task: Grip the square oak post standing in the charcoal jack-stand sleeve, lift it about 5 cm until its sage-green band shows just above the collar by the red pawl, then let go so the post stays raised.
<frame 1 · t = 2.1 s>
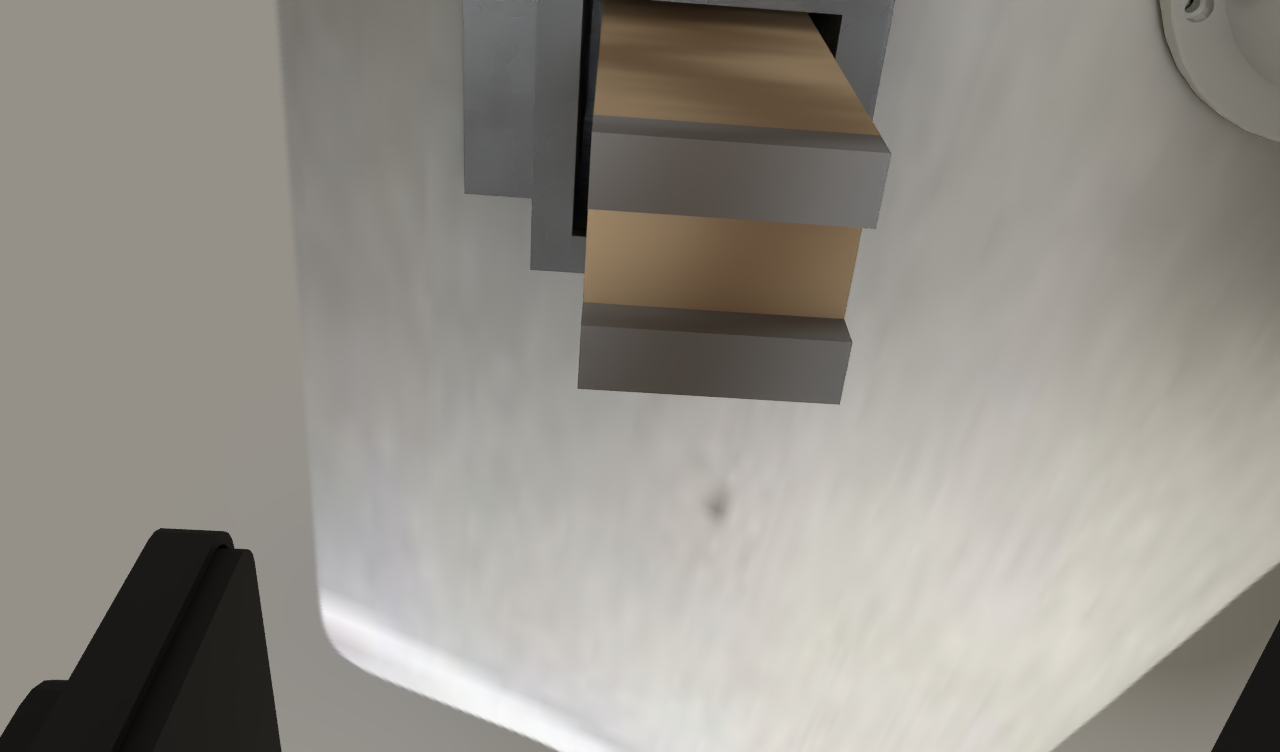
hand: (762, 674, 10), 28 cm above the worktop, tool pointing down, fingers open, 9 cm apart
column: (694, 99, 25), point 11 cm above the worktop, slide at 0.0 cm
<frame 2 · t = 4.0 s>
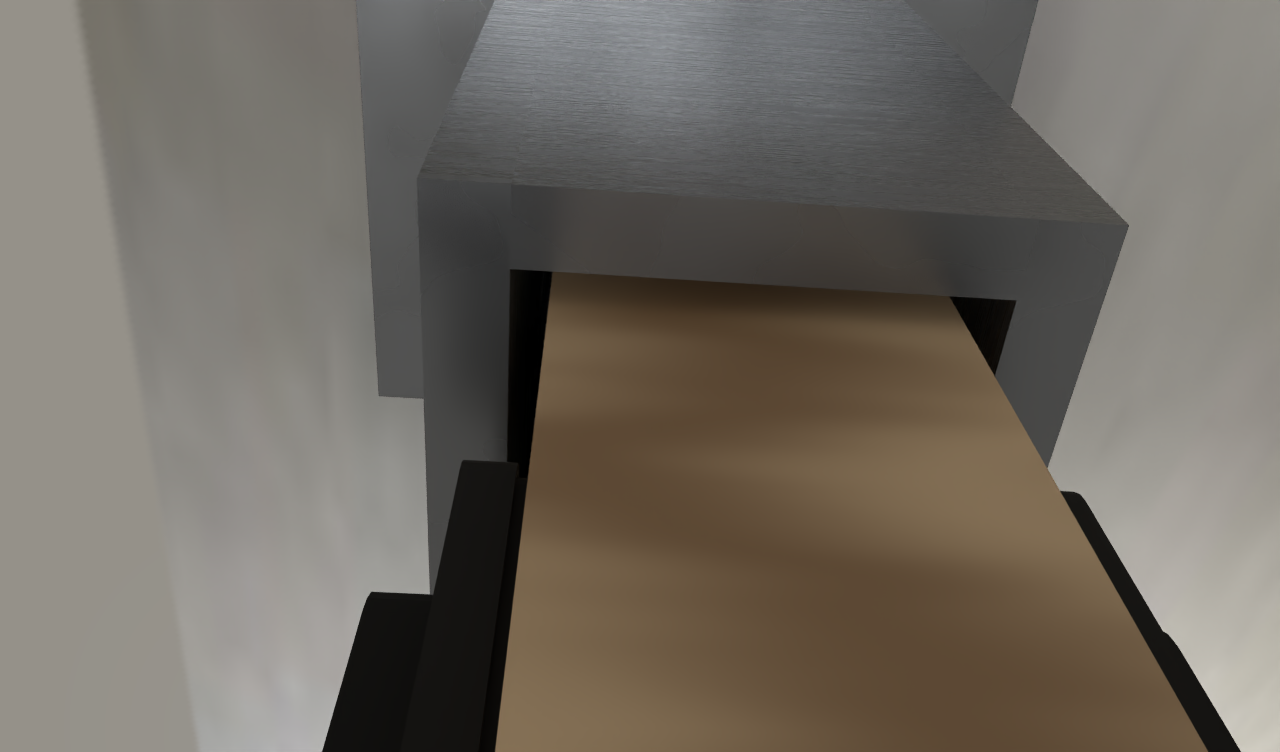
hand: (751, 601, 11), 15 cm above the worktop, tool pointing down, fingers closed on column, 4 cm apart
stand: (680, 123, 23), on the worktop
column: (719, 386, 14), point 11 cm above the worktop, slide at 0.0 cm, touching gripper
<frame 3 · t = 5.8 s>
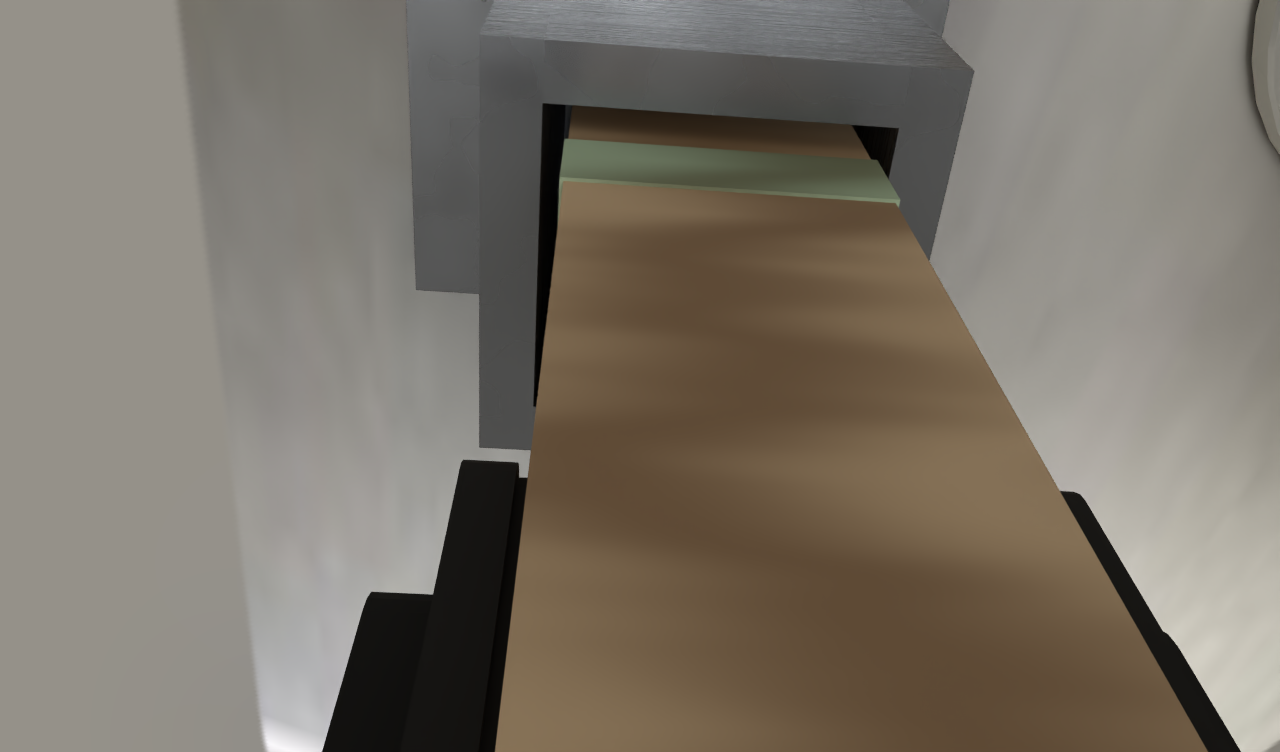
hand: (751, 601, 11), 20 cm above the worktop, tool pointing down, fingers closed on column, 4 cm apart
stand: (669, 55, 28), on the worktop
column: (719, 386, 14), point 16 cm above the worktop, slide at 5.4 cm, touching gripper
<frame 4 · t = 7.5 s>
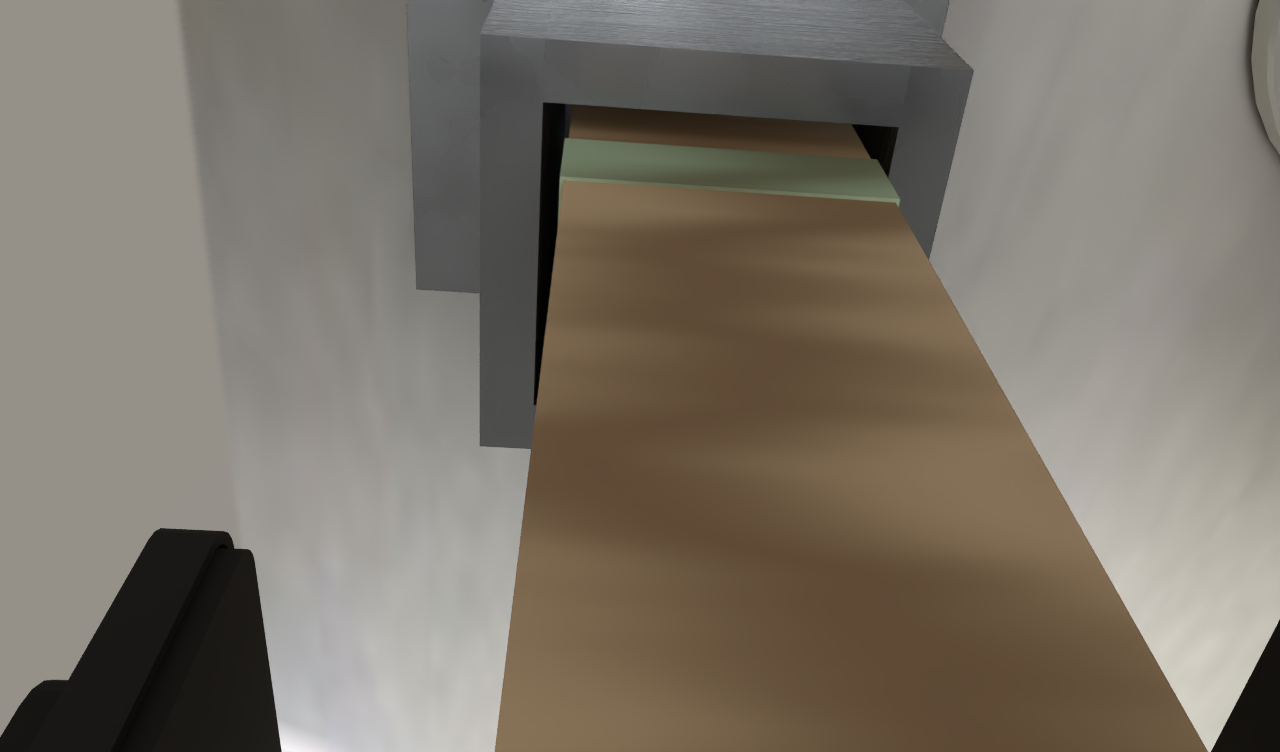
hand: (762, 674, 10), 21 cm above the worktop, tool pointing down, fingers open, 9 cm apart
stand: (670, 55, 28), on the worktop
column: (719, 385, 14), point 16 cm above the worktop, slide at 5.5 cm
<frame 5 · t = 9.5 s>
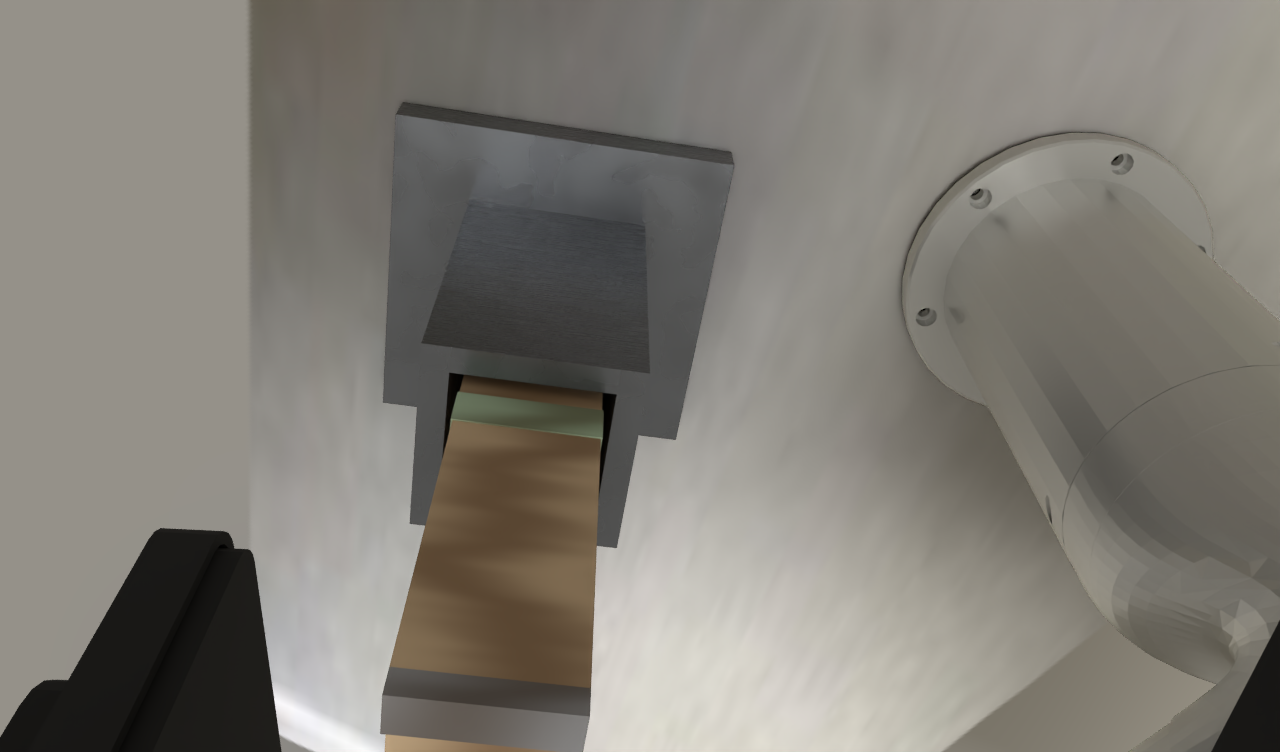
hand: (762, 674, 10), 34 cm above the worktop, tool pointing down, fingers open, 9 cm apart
stand: (550, 275, 46), on the worktop
column: (515, 515, 32), point 16 cm above the worktop, slide at 5.5 cm
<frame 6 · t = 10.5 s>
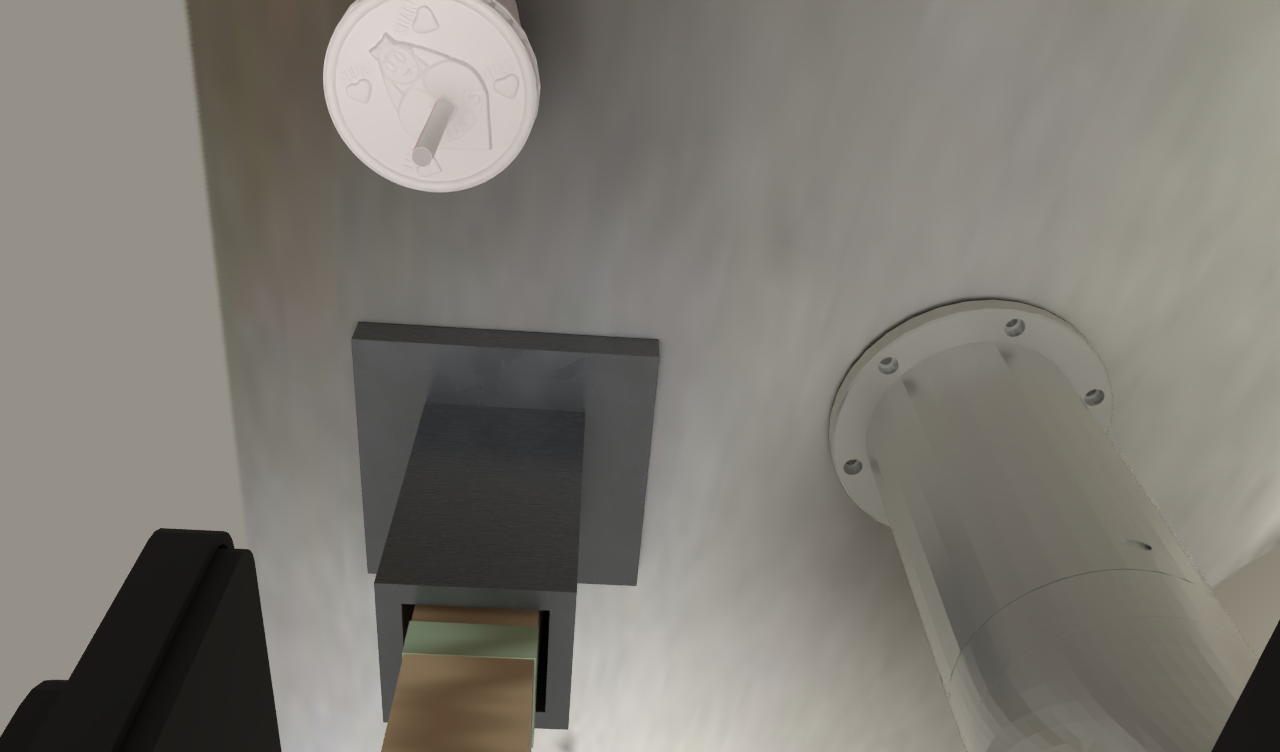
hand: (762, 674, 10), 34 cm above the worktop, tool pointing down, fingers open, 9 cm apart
stand: (507, 452, 51), on the worktop
column: (465, 731, 37), point 16 cm above the worktop, slide at 5.5 cm
smoothie: (469, 14, 40), on the worktop
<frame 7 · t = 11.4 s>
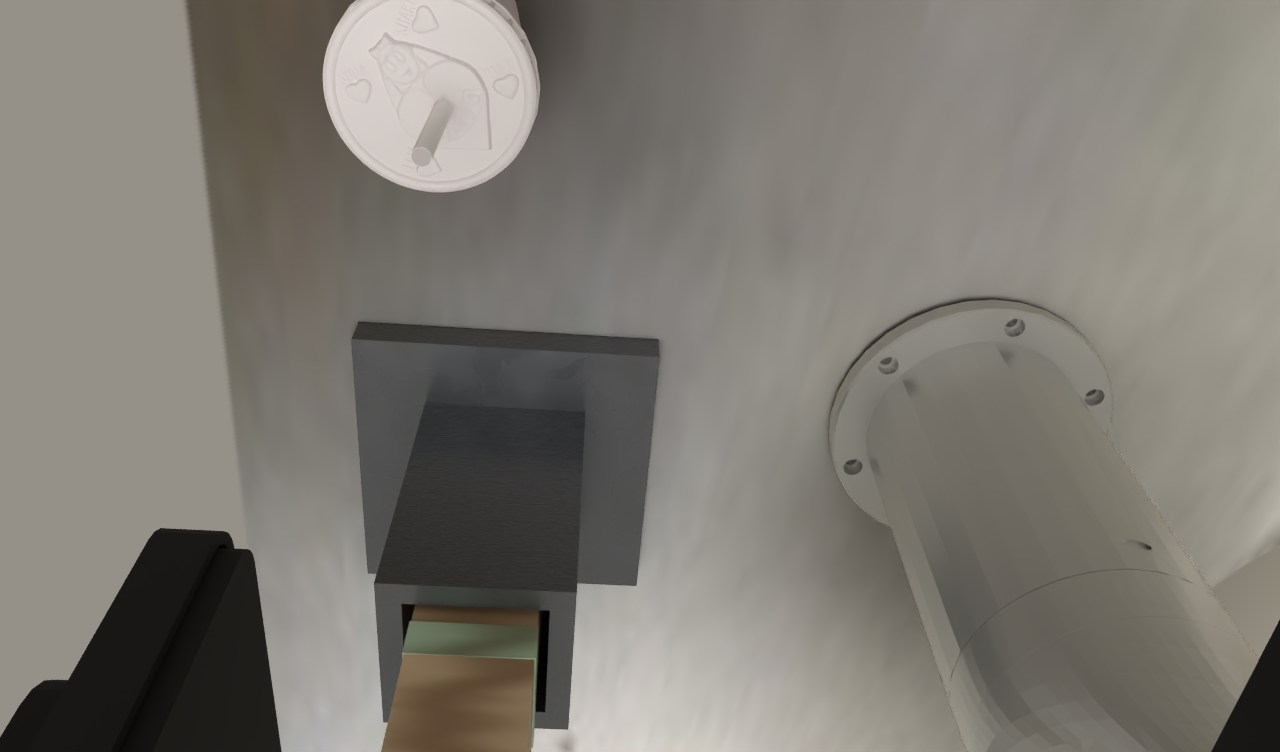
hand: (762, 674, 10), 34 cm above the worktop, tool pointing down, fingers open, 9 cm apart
stand: (507, 452, 51), on the worktop
column: (465, 731, 37), point 16 cm above the worktop, slide at 5.5 cm
smoothie: (469, 14, 40), on the worktop
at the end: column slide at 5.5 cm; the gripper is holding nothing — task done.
